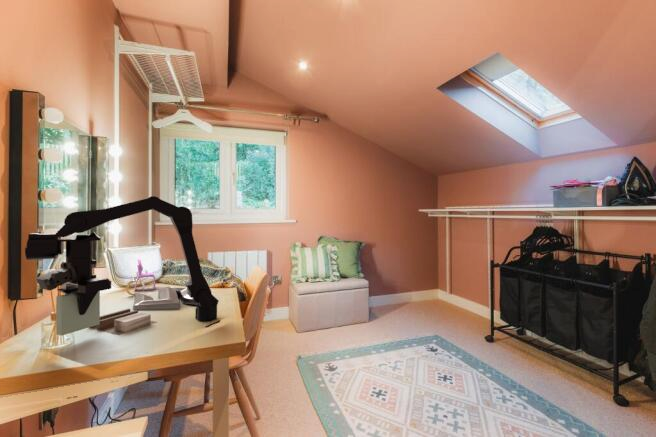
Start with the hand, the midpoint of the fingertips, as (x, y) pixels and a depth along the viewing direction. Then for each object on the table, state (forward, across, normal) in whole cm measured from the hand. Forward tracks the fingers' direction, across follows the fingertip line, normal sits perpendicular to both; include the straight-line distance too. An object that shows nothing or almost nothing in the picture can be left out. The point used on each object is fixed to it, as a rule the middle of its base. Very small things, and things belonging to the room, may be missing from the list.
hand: (79, 314), depth 82 cm
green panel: (+4, 0, 0) cm, 4 cm away
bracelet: (+9, -38, +41) cm, 57 cm away
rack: (+9, -2, +13) cm, 16 cm away
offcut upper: (+6, +3, +13) cm, 14 cm away
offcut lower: (+7, +3, +13) cm, 15 cm away
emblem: (+10, -13, +38) cm, 41 cm away
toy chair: (+9, -46, +51) cm, 69 cm away
